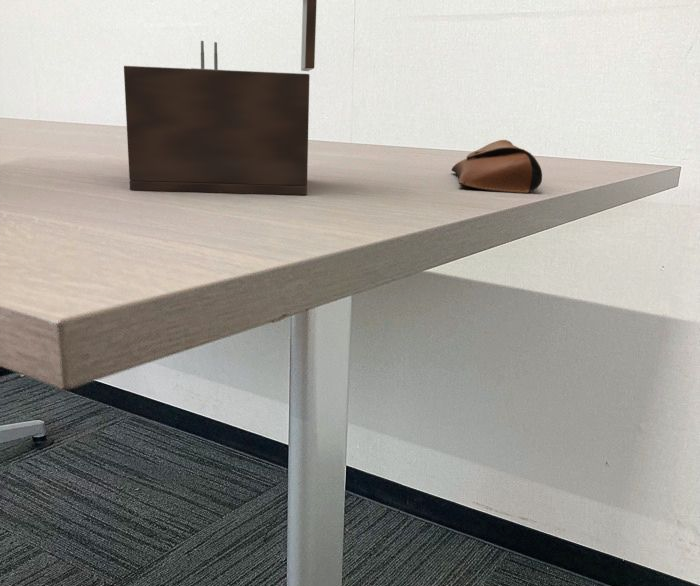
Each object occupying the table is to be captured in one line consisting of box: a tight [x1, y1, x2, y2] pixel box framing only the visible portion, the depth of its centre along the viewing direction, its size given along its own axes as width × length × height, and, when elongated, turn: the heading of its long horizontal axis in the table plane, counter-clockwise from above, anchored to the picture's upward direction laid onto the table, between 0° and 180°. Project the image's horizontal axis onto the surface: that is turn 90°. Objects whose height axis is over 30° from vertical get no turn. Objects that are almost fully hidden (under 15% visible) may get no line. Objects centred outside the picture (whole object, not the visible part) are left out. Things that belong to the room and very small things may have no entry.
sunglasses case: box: [451, 139, 543, 194], centre depth 86 cm, size 18×7×7 cm, turn 177°
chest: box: [123, 65, 311, 196], centre depth 73 cm, size 16×13×10 cm
